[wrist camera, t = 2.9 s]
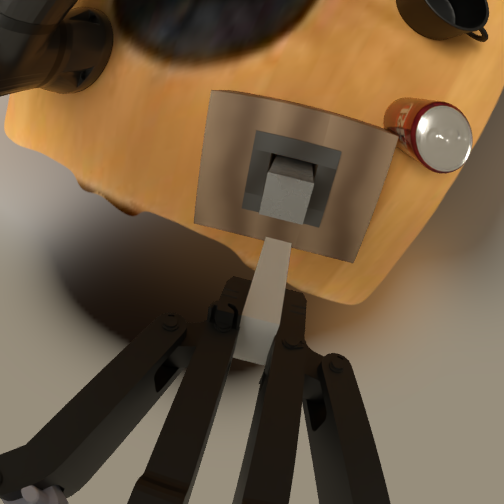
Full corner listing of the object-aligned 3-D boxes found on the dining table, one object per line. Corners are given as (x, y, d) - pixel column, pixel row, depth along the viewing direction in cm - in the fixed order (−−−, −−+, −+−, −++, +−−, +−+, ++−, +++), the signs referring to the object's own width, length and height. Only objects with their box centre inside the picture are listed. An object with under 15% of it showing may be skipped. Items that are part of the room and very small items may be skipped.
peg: (269, 187, 34) (258, 214, 27) (276, 153, 32) (267, 171, 25) (303, 196, 34) (302, 224, 27) (312, 163, 31) (314, 183, 25)
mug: (455, 65, 26) (490, 63, 18) (383, 10, 25) (403, -10, 17) (478, 24, 21) (512, 16, 13) (410, -31, 20) (432, -54, 12)
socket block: (212, 200, 43) (192, 224, 36) (229, 90, 34) (210, 90, 27) (346, 233, 42) (353, 264, 35) (381, 127, 33) (399, 137, 26)
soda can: (393, 157, 35) (424, 184, 25) (374, 106, 32) (402, 112, 22) (438, 142, 32) (481, 164, 22) (421, 91, 29) (463, 95, 19)
